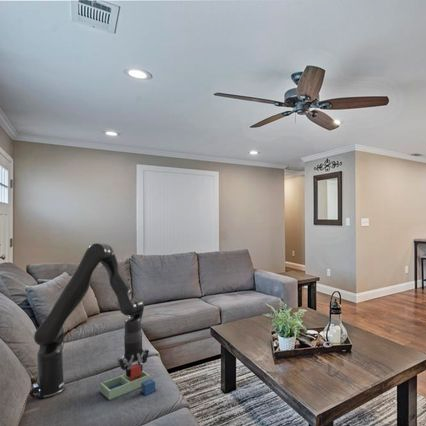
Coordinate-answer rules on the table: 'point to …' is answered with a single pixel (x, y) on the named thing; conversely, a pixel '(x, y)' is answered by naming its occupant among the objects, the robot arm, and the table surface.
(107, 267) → the robot arm
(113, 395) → the sorting tray
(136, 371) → the red block
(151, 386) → the blue block
